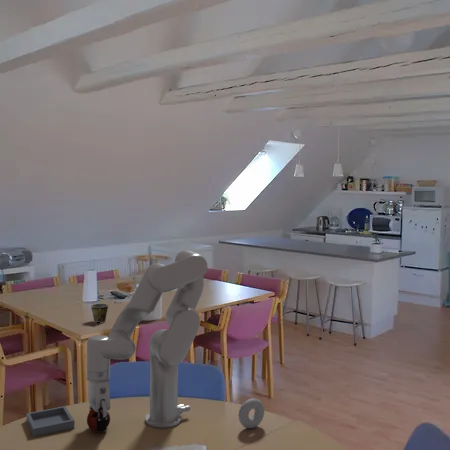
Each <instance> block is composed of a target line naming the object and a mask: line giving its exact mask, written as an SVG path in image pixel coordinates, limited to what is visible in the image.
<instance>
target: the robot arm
mask: <svg viewBox="0 0 450 450" xmlns="http://www.w3.org/2000/svg"><path fill="white" fill-rule="evenodd" d="M207 272H208V262H207V259H206V258H205V257H204V256H203V255H202V254H200V253H197V252H194V251H192V250H187V249H185V250H182V251H181V250H180V251H179V252H178V253H177V254H176V256H175V259H174V262H173V263H170V264H166V265H165V264H162V263H158V262H157V263H156V262H155V263H152V264H150V265H149V266H148V267H147V268H146V270H145V272H144V274H143V276H142V277H141V280H140V281H139V284H137V285H138V287H137V289H136V288H135V291H134V293H133V295H132V297H131V299H130V301H129V302H128V303H127V304H126V305H125V307H124V308H123V309H122V311H121V312H120V314H119V315H118V316H117V318H116V320H115V322H114V324H113V325H112V328H111V329H110V331H109V334H108V336H107V335H103V334H102V335H101V334H99V335H97V334H96V335H93V336H90V337H89V338H88V339H87V341H86V381H88V387H87V389H88V390H87V399H88V404H89V407H88V409H89V411H88V413H89V412H90V410H91V409H92V408H93V409H94V411H96V412H97V417H98V420H97V432H96V433H103V432H107V429H108V427H107V413H109V410H111V395H110V394H111V391H110V390H111V388H110V381H109V380H110V379H111V360H121V361H122V360H129V359H130V358H132V357H133V356H134V354H135V352H136V344H135V342H134V340H133V339H132V335H133V333H134V331H135V329H136V328H137V326H138V324H139V323H140V322H141V321H143V320H142V319H143V318H145V317H147V316H149V315H150V314H152V313H153V311H154V309H155V307H156V305H157V303H158V301H159V299H160V297H161V295H162V296H163V293H167V292H171V291H173V290H176V292H175V294H174V296H173V298H172V300H171V302H170V304H169V305H168V307H167V310H166V311H165V316H164V317H165V321H166V324H167V325H168V326H169V328H168V329H166V328H163V329H162V328H161V329H158V330H156V331H154V333H153V334H152V335H151V336H150V338H149V342H148V351H149V353H148V354H149V366H150V367H149V368H150V370H149V371H150V373H149V374H150V375H149V387H150V388H149V413H146V415H145V417H144V422H145V424H146V425H148V426H150V427H153V428H158V429H165V428H167V429H168V428H172V427H175V426H177V425H179V424H180V423H181V422H182V420H183V419H182V417H183V416H182V414H183V413H188V412H191V406H190V405H184V404H179V405H178V399H179V398H178V395H179V394H178V393H179V392H178V391H179V390H178V388H179V384H178V382H179V381H178V380H179V365H180V364H181V363H182V362H183V361H184V360H185V358H186V356H187V355H188V353H189V350H190V348H191V346H192V344H193V343H194V340H195V338H196V336H197V334H198V332H199V329H200V327H201V326H200V324H201V318H200V314H199V313H198V311H197V310H196V308H197V306H198V303H199V302H200V300H201V298H202V297H201V296H202V294H203V290H204V285H205V283H204V281H205V280H204V279H205V278H204V275H205V274H206V273H207ZM100 408H102V410H99V409H100ZM100 412H102V414H101V415H100Z"/></svg>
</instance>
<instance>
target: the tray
mask: <svg viewBox="0 0 450 450" xmlns="http://www.w3.org/2000/svg"><path fill="white" fill-rule="evenodd" d="M26 422H27V425H28V427H29V430H30V432H31V434H32V437H33V438H35V437H39V436H44V435H47V434H53V433H57V432H62V431H66V430H71V429H75V419H74V417H73V416H72V415H71V412H70V411H69V409H68V408H67V406H66V405H65V406H64V405H63V406H58V407H53V408H48V409H47V408H46V409H42V410H37V411H32V412H26Z"/></svg>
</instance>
